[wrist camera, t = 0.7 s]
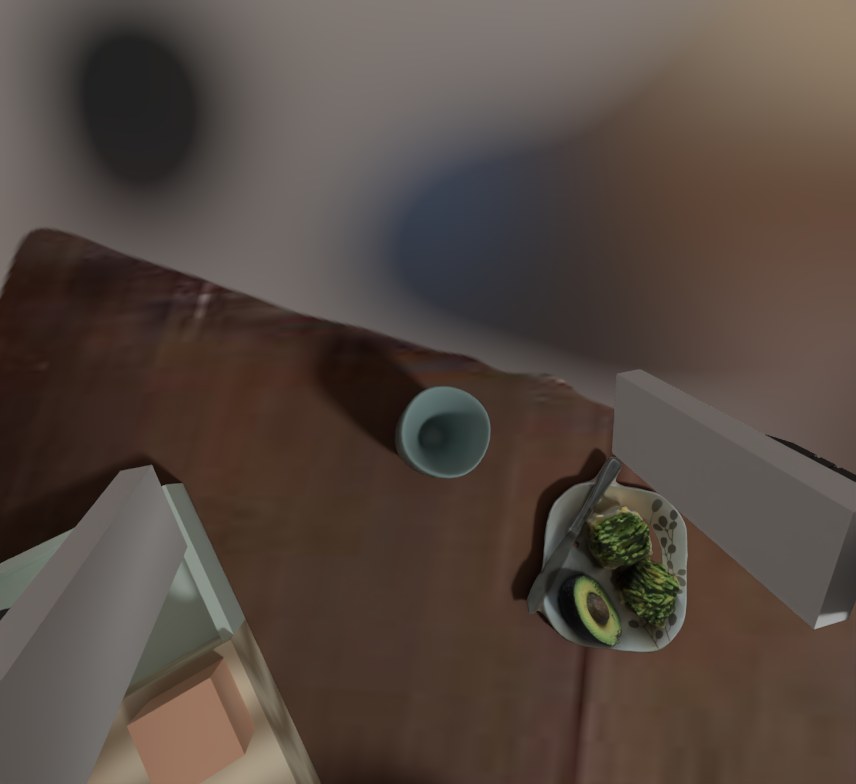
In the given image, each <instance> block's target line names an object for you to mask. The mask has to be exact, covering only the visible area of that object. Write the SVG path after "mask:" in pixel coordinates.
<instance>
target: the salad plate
mask: <svg viewBox="0 0 856 784" xmlns="http://www.w3.org/2000/svg"><path fill="white" fill-rule="evenodd" d="M621 468H622V464H621V462H620V460H619V459H617V458H615V457H611V458H608V459H607V461H606V462H605V464H604V465H603V467H602V468H601V470H600V471H599V473H598V475H597V476H596V477H595V478H594V479H592V480H590V481H586V482H584V483H579V484H575V485H574V486H572V487H571V488H570V489H568V490H567V491H565V492H564V493H563V494H562V495H561V496H560V497H559V498H558V499H556V500H555V501H554V503H553V505H552V508H551V509H550V512H549V515H548V520H547V524H546V529H545V535H544V551H543V564H542V568H541V571H540V573H539V575H538V576H537V578H536V580H535V581H534V583H533V585H532V588H531V590H530V593H529V596H528V598H527V605H528V612H529V614H532V613H533V614H535V613H536V612H537V611H540V612H541V613H542V614H543V615H544V616H545V618H546V619H547V621H548V622H549V623H550V624H551V626H552V627H553V629H554V630H555V631H556V632H557V633H558V634H560V635H561V636H562V637H563V638H565V639H566V640H568V641H570V642H572V643H575V644H578V645H582V646H586V647H593V648H604V649H616V650H622V651H631V652H648V653H650V652H654V651H657V650H660V649H662V648H664V647H665V646H666V645H668V644H669V643H670V642H671V641H672V639H673V638H674V637H675V636H676V635H677V633H678V632H679V631H680V629H681V627H682V625H683V622H684V618H685V613H686V586H687V582H686V575H687V568H686V564H687V557H688V554H687V530H686V526H685V523H684V521H683V519H682V517H681V515H680V514H679V512H678V511H677V510H676V509H675V508H674V506H673V505H671V504H670V503H669V502H668V501H667V500H666V499H665V498H663V497H662V496H661V495H660V494H659V493H656V492H653V491H646V490H644V489H639V488H635V487H629V486H623V485H621V484H618V483H617V482H616V477H617V475H618V473H619V472H620V470H621ZM642 518H645V519H646V520H647V521H648V523H649V524H650V525H651V526H652V528H653V529H654V532H655V534H656V535H657V537H658V539H659V542H660V546H661V550H662V557H663V564H662V563H657V564H655V563H653V562H652V561H650V559H649V558H648V557H647V556H650V555H652V549H651V548H652V544H651V540H650V536H649V529H648V526H647V524H646V523H645V522H643V520H642ZM575 541H577V542H579V546H578V547H577V548H575V547H573V543H574V542H575ZM619 573H620V576H619V578H618V579H617V578H616V577H617V575H618V574H619ZM629 620H631V621H629Z"/></svg>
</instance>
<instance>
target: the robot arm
mask: <svg viewBox="0 0 856 784" xmlns="http://www.w3.org/2000/svg"><path fill="white" fill-rule="evenodd" d="M612 453H613V454H614V455H615V456H617V457H618V458H619V459H620V460H621V461H622V462H623V463H625V464H626V465H627V466H628V467H629V468H630V469H631V470H633V471H634V472H635V473H636V474H637V475H638V476H639V477H641V478H642V479H643V480H644V481H645V482H646V483H647V484H649V485H650V486H651V487H652V488H653V489H654V490H655V491H657V492H658V493H659V494H660V495H661V496H662V497H663V498H665V499H666V500H667V501H668V502H669V503H670V504H671V505H673V506H674V507H675V508H676V509H677V510H678V511H679V512H681V513H682V514H683V515H684V516H685V517H686V518H687V519H689V520H690V521H691V522H692V523H693V524H694V525H695V526H697V527H698V528H699V529H700V530H701V531H702V532H703V533H705V534H706V535H707V536H708V537H709V538H710V539H711V540H713V541H714V542H715V543H716V544H717V545H718V546H719V547H721V548H722V549H723V550H724V551H725V552H726V553H727V554H729V555H730V556H731V557H732V558H733V559H734V560H735V561H737V562H738V563H739V564H740V565H741V566H742V567H743V568H745V569H746V570H747V571H748V572H749V573H750V574H751V575H753V576H754V577H755V578H756V579H757V580H758V581H759V582H761V583H762V584H763V585H764V586H765V587H766V588H767V589H769V590H770V591H771V592H772V593H773V594H774V595H775V596H777V597H778V598H779V599H780V600H781V601H782V602H783V603H785V604H786V605H787V606H788V607H789V608H790V609H791V610H793V611H794V612H795V613H796V614H797V615H798V616H800V617H801V618H802V619H803V620H804V621H805V622H806V623H808V624H809V625H810V626H811V627H812V628H813V629H816V628H820V627H823V626H826V625H830V624H833V623H836V622H840V621H843V620H846V619H849V616H850V613H851V611H852V608H853V605H854V603H855V600H856V475H855V474H853V473H851V472H849V471H847V470H845V469H843V468H837V467H836V465H835V464H833V463H831V462H829V461H827V460H825V459H823V458H817V455H815V454H814V453H812V452H810V451H808V450H806V449H804V448H802V447H800V446H798V445H796V444H794V443H791V442H788V441H785V440H782V439H778V438H775V437H772V436H769V435H764V434H762V433H760V432H759V431H756V430H755V429H752V428H751V427H749V426H747V425H745V424H743V423H741V422H740V421H738V420H736V419H734V418H732V417H730V416H728V415H726V414H724V413H722V412H721V411H719V410H717V409H715V408H713V407H711V406H709V405H707V404H705V403H703V402H701V401H700V400H698V399H696V398H694V397H692V396H690V395H688V394H686V393H684V392H682V391H681V390H678V389H677V388H675V387H673V386H671V385H669V384H667V383H665V382H663V381H661V380H659V379H658V378H656V377H654V376H652V375H650V374H648V373H646V372H644V371H642V370H641V369H640V370H634V371H629V372H624V373H619V374H617V380H616V396H615V412H614V428H613V445H612ZM187 547H188V546H187V544H186V542H185V539H184V537H183V535H182V532H181V530H180V528H179V526H178V523H177V521H176V519H175V516H174V514H173V512H172V510H171V507H170V505H169V503H168V500H167V498H166V496H165V494H164V491H163V489H162V487H161V484H160V482H159V480H158V478H157V475H156V473H155V471H154V468H153V466H152V465H148V466H143V467H138V468H133V469H128V470H123V471H120V472H119V473H118V474H117V476H116V477H115V478H114V479H113V481H112V482H111V483H110V484H109V486H108V487H107V488H106V489H105V491H104V492H103V493H102V494H101V496H100V497H99V498H98V499H97V501H96V502H95V503H94V504H93V506H92V507H91V508H90V509H89V511H88V512H87V513H86V514H85V516H84V517H83V518H82V519H81V521H80V522H79V523H78V524H77V526H76V527H75V528H74V529H73V531H72V532H71V533H70V534H69V536H68V537H67V538H66V539H65V541H64V542H63V543H62V544H61V546H60V547H59V548H58V549H57V551H56V552H55V553H54V554H53V556H52V557H51V558H50V559H49V561H48V562H47V563H46V564H45V566H44V567H43V568H42V569H41V571H40V572H39V573H38V574H37V576H36V577H35V578H34V579H33V581H32V582H31V583H30V584H29V586H28V587H27V588H26V589H25V591H24V592H23V593H22V594H21V596H20V597H19V598H18V599H17V601H16V602H15V603H14V604H13V606H12V607H11V608H7V609H3V610H0V784H87V782H88V780H89V778H90V775H91V773H92V771H93V768H94V766H95V764H96V761H97V759H98V757H99V754H100V752H101V749H102V747H103V745H104V742H105V740H106V738H107V735H108V733H109V731H110V728H111V726H112V724H113V721H114V719H115V716H116V714H117V712H118V709H119V707H120V705H121V702H122V700H123V698H124V695H125V693H126V691H127V688H128V686H129V683H130V681H131V679H132V676H133V674H134V672H135V669H136V667H137V665H138V662H139V660H140V658H141V655H142V653H143V650H144V648H145V646H146V643H147V641H148V639H149V636H150V634H151V632H152V629H153V627H154V625H155V622H156V620H157V618H158V615H159V613H160V610H161V608H162V606H163V603H164V601H165V599H166V596H167V594H168V592H169V589H170V587H171V585H172V582H173V580H174V577H175V575H176V573H177V570H178V568H179V566H180V563H181V561H182V559H183V556H184V554H185V552H186V549H187Z"/></svg>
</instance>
